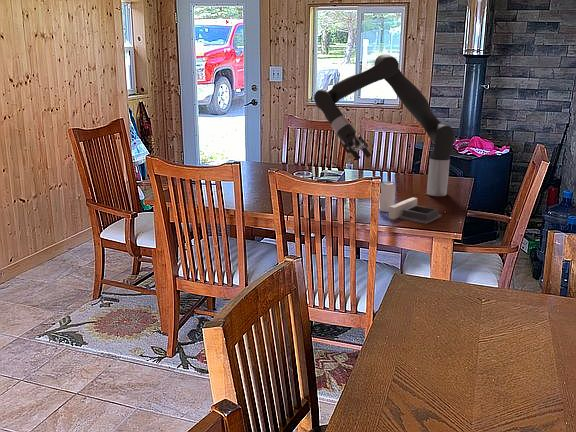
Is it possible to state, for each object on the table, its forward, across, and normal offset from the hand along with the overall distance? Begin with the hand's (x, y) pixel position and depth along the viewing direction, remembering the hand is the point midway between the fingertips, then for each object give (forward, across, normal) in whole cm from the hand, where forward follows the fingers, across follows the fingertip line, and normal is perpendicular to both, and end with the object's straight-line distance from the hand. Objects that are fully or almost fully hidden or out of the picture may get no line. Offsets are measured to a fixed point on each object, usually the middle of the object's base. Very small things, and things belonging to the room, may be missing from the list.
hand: (364, 158), depth 247 cm
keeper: (+35, 0, -5) cm, 35 cm away
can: (+24, 0, +6) cm, 25 cm away
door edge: (+29, 0, 0) cm, 29 cm away
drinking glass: (+8, -17, +22) cm, 29 cm away
